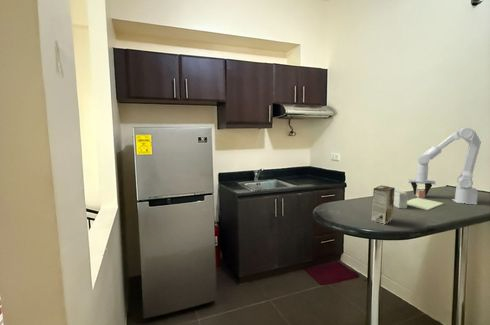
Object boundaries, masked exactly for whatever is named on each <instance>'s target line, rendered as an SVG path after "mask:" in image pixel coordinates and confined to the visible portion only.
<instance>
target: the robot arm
mask: <svg viewBox="0 0 490 325" xmlns="http://www.w3.org/2000/svg"><path fill="white" fill-rule="evenodd" d="M461 139H463V140H465V141H466V142H467V143H468V148H467V152H466V154H465V160H464V162H463V165H462V166H463V167H462V170H461V172H460V175H459V176H457V178H456V180H457V181H456V182H457V185H456V186H455V187H456V188H455V194H454V198H451V200H452V201H453V202H455V203H457V204H464V203H465V204H466V205H467V204H469V205H478V194H479V193H478V189H477V188H474V187H473V186H474V182H473V177H474V176H473V172H474V169H475V166H476V161H477V158H478V154H479V151H480V148H481V143H482V141H481V140H480V138H479V136H478V134H477V132H476V131H475V130H474V129H472V128H471V127H469V126H468V127H462V128H459V129H458V130H456V131H455V132H453V133H452V134H450V135H449V136H447V137H446V138H445V139H443V141H441V142H440V143H439V144H438V145H432V146H430V147H428V148H429V149H428V150H426V151H424V152H422V154H421V155H419V156H418V157H417V161H418V162H417V167H416V179H408V180H407V183H408V184H411V187H412V191H413V194H414V195H415V196H416V189H418V184H421V185H422V184H423V185H424V191H425V196H428V193H429V191H430V189H431V188H433V185H436V181H435V180H428V175H429V173H428V172H429V163H430V160H433V159H435V158H436V157H437V156H439V154H441V153H442V150H443V149H444V148H446V147H447V146H449V145H450V144H451V143H453V142H454V141H458V140H461Z"/></svg>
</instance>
